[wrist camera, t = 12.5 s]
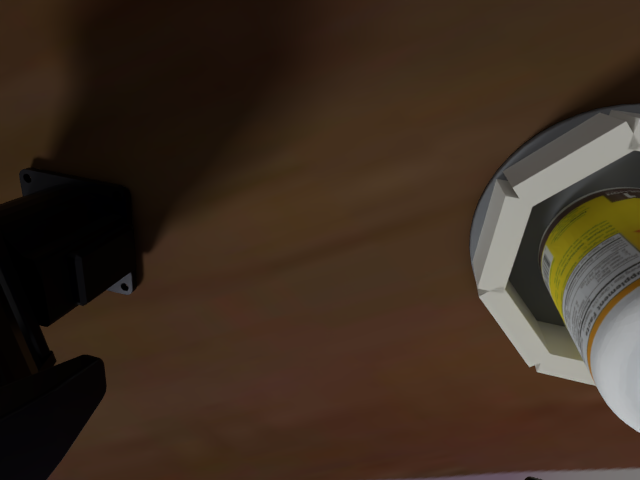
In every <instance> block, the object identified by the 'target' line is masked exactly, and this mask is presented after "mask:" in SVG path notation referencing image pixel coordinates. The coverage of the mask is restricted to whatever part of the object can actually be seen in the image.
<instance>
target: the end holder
mask: <svg viewBox="0 0 640 480" xmlns="http://www.w3.org/2000/svg"><path fill="white" fill-rule="evenodd" d="M616 187H634V188H640V103H638V104H621V105H615V106H609V107H603V108H598V109H595V110H591V111H588V112H584V113H581V114H578V115H575V116H573V117H570V118H568V119H566V120H563V121H561V122H558V123H557V124H555V125H553V126H551V127H549V128H547V129H546V130H544V131H542V132H540V133H539V134H537V135H536V136H534V137H533V138H532V139H530V140H529V141H527V142H526V143H524V144H523V145H522V146H521V147H520V148H519V149H517V150H516V151H515V152H514V153H513V154H512V155H511V156H510V157H509V158H508V159H507V160H506V161H505V162H504V163H503V164H502V165H501V167H500V168H499V169H498V170H497V171H496V172H495V174H494V175H493V177H492V178H491V180H490V181H489V183H488V184H487V186H486V187H485V189H484V191H483V193H482V195H481V197H480V199H479V201H478V204H477V207H476V210H475V212H474V215H473V220H472V225H471V230H470V244H469V247H470V257H471V264H472V268H473V272H474V276H475V280H476V284H477V289H478V294H479V297H480V299H481V300H482V302H483V303H484V304H485V306H486V307H487V309H488V310H489V311H490V313H491V314H492V316H493V317H494V318H495V320H496V321H497V323H498V324H499V325H500V327H501V328H502V330H503V331H504V332H505V334H506V335H507V337H508V338H509V339H510V341H511V342H512V344H513V345H514V346H515V348H516V349H517V351H518V352H519V353H520V355H521V356H522V358H523V359H524V360H525V362H526V363H527V365H528V366H529V367H531V366H533V365H535V367H536V370H537V372H540V373H544V374H548V375H552V376H557V377H561V378H565V379H569V380H574V381H578V382H582V383H586V384H591V385H595V383H594V381H593V379H592V377H591V375H590V373H589V371H588V369H587V367H586V365H585V363H584V361H583V359H582V357H581V355H580V353H579V351H578V349H577V347H576V345H575V343H574V341H573V339H572V337H571V335H570V333H569V331H568V329H567V327H566V325H565V323H564V321H563V319H562V317H561V315H560V313H559V311H558V309H557V307H556V305H555V303H554V301H553V299H552V297H551V295H550V293H549V291H548V289H547V287H546V285H545V283H544V280H543V278H542V275H541V273H540V269H539V264H538V251H539V245H540V242H541V239H542V236H543V234H544V232H545V230H546V228H547V226H548V225H549V223H550V222H551V221H552V219H553V218H554V217H555V216H556V215H557V214H558V213H559V212H560V211H561V210H562V209H563V208H565V207H566V206H567V205H569V204H570V203H572V202H573V201H575V200H577V199H578V198H580V197H582V196H584V195H587V194H589V193H592V192H595V191H599V190H603V189H608V188H616ZM595 386H596V385H595Z"/></svg>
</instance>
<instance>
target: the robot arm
mask: <svg viewBox="0 0 640 480" xmlns="http://www.w3.org/2000/svg"><path fill="white" fill-rule="evenodd" d="M19 177H20V183H21V188H22V194H23V197H20V198H17V199H14V200H11V201H8V202H6V203H3V204H0V480H47V478H48V477H49V476H50V474H51V473H52V472H53V471H54V469H55V468H56V467H57V465H58V464H59V463H60V462H61V460H62V459H63V457H64V456H65V454H66V453H67V452H68V450H69V449H70V447H71V446H72V444H73V443H74V441H75V440H76V438H77V437H78V435H79V434H80V432H81V431H82V429H83V427H84V426H85V424H86V423H87V421H88V420H89V418H90V417H91V415H92V414H93V412H94V411H95V409H96V408H97V406H98V405H99V403H100V402H101V400H102V399H103V397H104V395H105V392H106V377H105V368H104V362H103V361H102V359H100V358H97V357H94V356H90V355H81V356H78V357H76V358H73V359H71V360H68V361H66V362H63V363H61V364H58V365H56V366H54V364H55V363H56V359H55V356H54V354H53V351H50V350H49V348H48V345H47V343H46V340H45V338H44V335H43V333H42V331H41V328H40V326H39V325H41V326H45V327H48V326H50V325H51V324H52V323H54V322H55V321H57V320H58V319H60V318H61V317H62V316H64V315H65V314H67V313H68V312H70V311H71V310H72V309H74V308H75V307H77V306H78V305H82V306H84V305H86V304H87V303H89V302H90V301H92V300H93V299H94V298H96V297H97V296H99V295H100V294H101V293H103V292H104V291H106V290H109V291H113V292H117V293H121V294H126V295H128V294H131V293H132V292H133V291H135V289H136V287H137V283H136V260H135V245H134V230H133V225H132V210H131V196H130V192H129V191H128V189H127V188H126V187H124V186H122V185H117V184H112V183H107V182H102V181H97V180H92V179H87V178H82V177H77V176H72V175H66V174H61V173H56V172H51V171H46V170H41V169H36V168H26V169H23V170H21V171H20V173H19ZM30 177H31V178H30ZM118 193H120V194H121V197H122V198H120V197H119V196H118ZM126 284H127V285H128V287H127V286H126ZM525 480H541V479H538V478H534V477H527V478H526V479H525Z"/></svg>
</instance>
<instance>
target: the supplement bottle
mask: <svg viewBox="0 0 640 480" xmlns="http://www.w3.org/2000/svg"><path fill="white" fill-rule="evenodd" d="M538 264H539V269H540V273H541V275H542V278H543V280H544V283H545V285H546V287H547V289H548V291H549V293H550V295H551V297H552V299H553V301H554V303H555V305H556V307H557V309H558V311H559V313H560V315H561V317H562V319H563V321H564V323H565V325H566V327H567V329H568V331H569V333H570V335H571V337H572V339H573V341H574V343H575V345H576V347H577V349H578V351H579V353H580V355H581V357H582V359H583V361H584V363H585V365H586V367H587V369H588V371H589V373H590V375H591V377H592V379H593V381H594V383H595V385H596V387H597V388H598V390H599V392H600V394H601V395H602V397H603V399H604V400H605V402H606V403H607V405H608V406H609V407H610V408H611V410H612V411H613V412H614V413H615V414H616V415H617V416H618V417H619V418H620V419H621V420H623V421H624V422H625V423H626V424H628V425H629V426H630V427H632V428H633V429H635V430H636V431H638V432H640V188H634V187H616V188H608V189H603V190H599V191H595V192H592V193H589V194H587V195H584V196H582V197H580V198H578V199H577V200H575V201H573V202H572V203H570V204H569V205H567V206H566V207H565V208H563V209H562V210H561V211H560V212H559V213H558V214H557V215H556V216H555V217H554V218H553V219H552V221H551V222H550V223H549V225H548V226H547V228H546V230H545V232H544V234H543V236H542V239H541V242H540V245H539V251H538Z"/></svg>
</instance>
